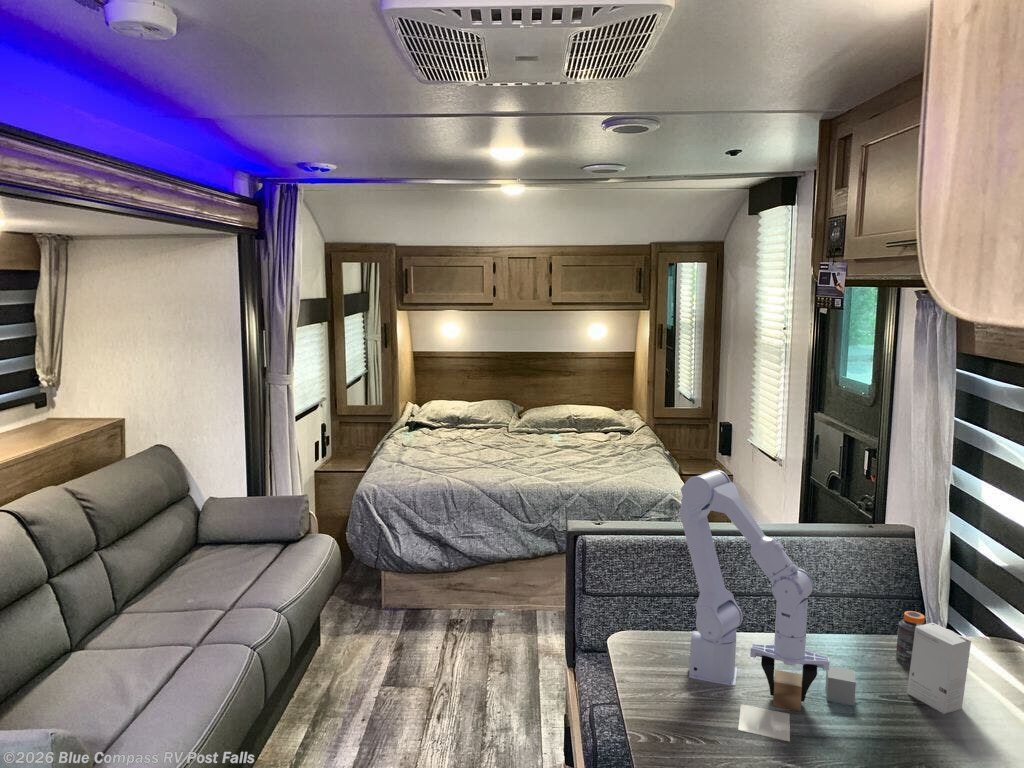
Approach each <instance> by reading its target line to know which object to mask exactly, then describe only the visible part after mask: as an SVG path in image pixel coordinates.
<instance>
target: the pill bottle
mask: <svg viewBox="0 0 1024 768" xmlns="http://www.w3.org/2000/svg"><path fill="white" fill-rule="evenodd" d="M925 619H926V617H925V615H924V614H923V613H921V612H917V611H913V610H907V611H904V613H903V619H901V620H900V621H899V622H898V625H897V626H898V627H897V637H896V639H897V640H896V653H895V655H896V657H895V658H896V661H898V663H899V664H902V665H903V666H907V667H909V668H910V665H911V657H912V650H913V642H914V635H915V627H916V626H920V625H925V624H926V623H925V622H926V621H925Z"/></svg>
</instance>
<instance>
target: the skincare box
mask: <svg viewBox="0 0 1024 768" xmlns="http://www.w3.org/2000/svg"><path fill="white" fill-rule="evenodd" d="M924 624H925V625H920V626H916V627H915V635H914V642H913V650H912V657H911V665H910V667H909V674H908V682H907V690H906V693H907V695H909V696H911V697H913V698H915V699H917V700H918V701H920V702H922V703H924V704H925V705H928V706H929V707H931V708H932V709H934V710H937V712H940V713H941V714H943V715H945V714H948V713H953V712H956V711H959V710H961V708H962V709H963V702H964V697H965V696H964V695H965V687H966V681H967V673H968V665H969V659H970V652H971V645H972V640H971V639H968V638H967V637H964V636H962V635H960V634H958V633H956V631H953V630H951V629H948V628H945V627H943V626H941V625H939V624H937V623H934V622H929V623H924Z"/></svg>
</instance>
